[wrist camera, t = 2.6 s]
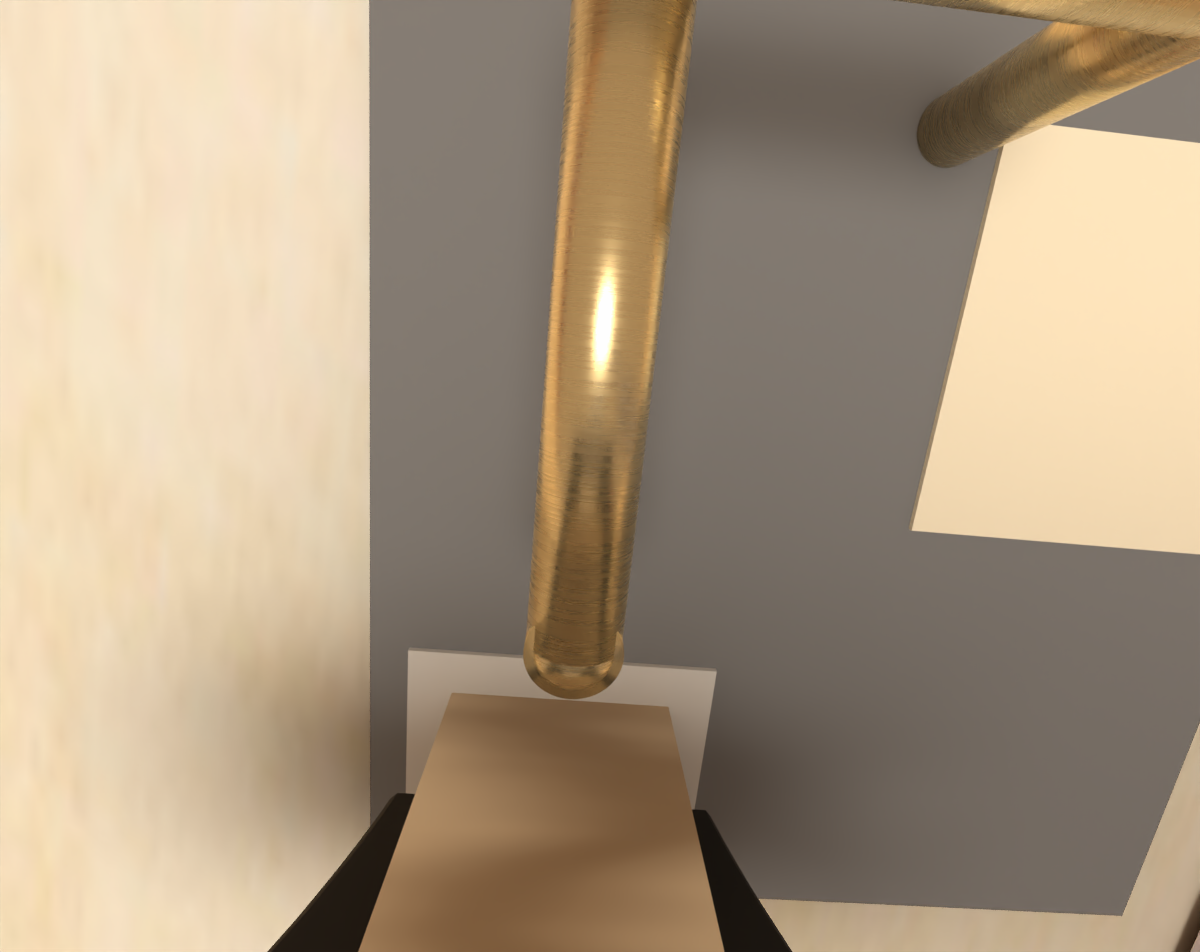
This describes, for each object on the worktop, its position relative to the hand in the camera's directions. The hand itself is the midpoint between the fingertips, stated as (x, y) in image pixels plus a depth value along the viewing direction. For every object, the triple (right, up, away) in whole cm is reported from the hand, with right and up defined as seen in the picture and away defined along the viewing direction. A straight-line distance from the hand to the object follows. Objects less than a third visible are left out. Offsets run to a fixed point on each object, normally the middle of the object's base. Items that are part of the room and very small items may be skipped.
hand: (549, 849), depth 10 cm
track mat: (+5, +6, 0) cm, 8 cm away
